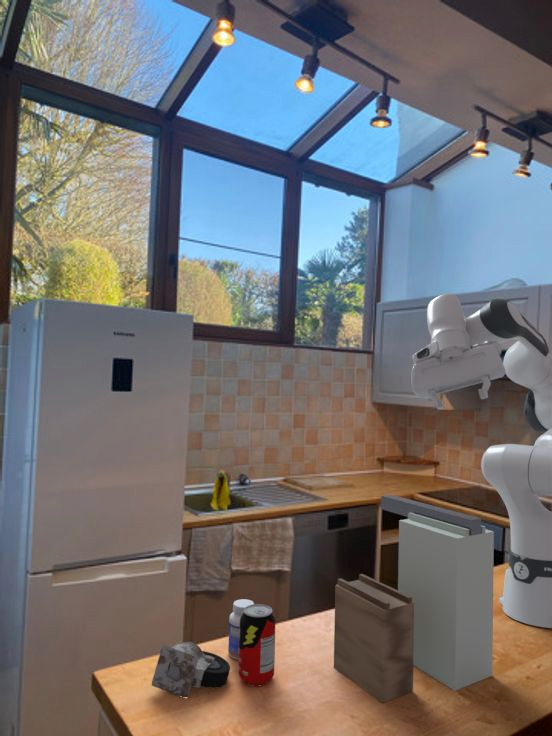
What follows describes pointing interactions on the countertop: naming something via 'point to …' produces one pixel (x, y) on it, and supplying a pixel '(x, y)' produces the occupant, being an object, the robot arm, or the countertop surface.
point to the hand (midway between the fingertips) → (462, 403)
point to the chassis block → (374, 637)
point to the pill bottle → (236, 626)
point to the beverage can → (257, 645)
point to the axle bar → (431, 512)
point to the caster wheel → (189, 669)
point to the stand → (448, 598)
